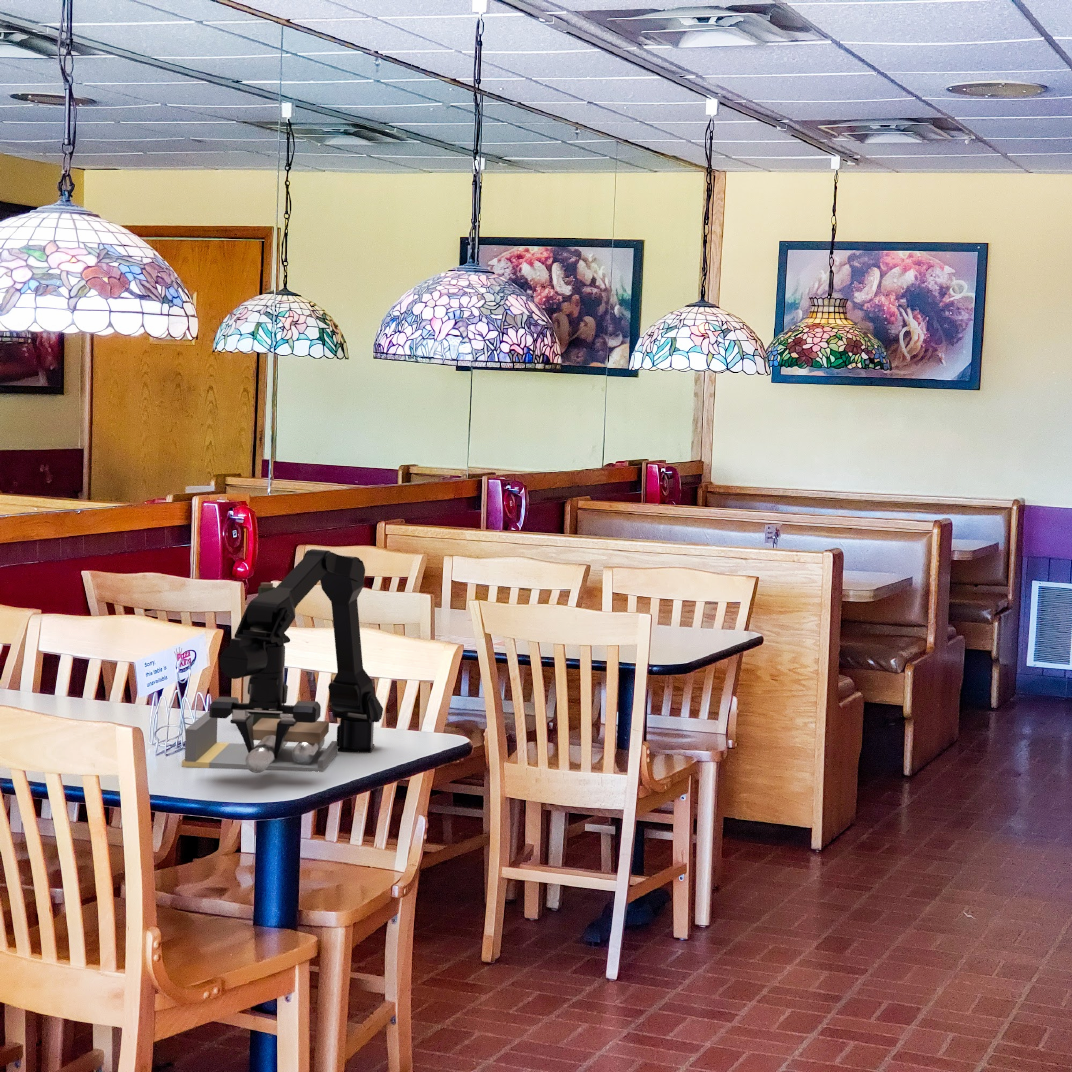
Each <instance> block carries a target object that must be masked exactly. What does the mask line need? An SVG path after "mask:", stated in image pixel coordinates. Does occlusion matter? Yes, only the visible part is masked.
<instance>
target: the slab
mask: <svg viewBox="0 0 1072 1072" xmlns="http://www.w3.org/2000/svg"><path fill="white" fill-rule="evenodd" d="M280 720H281V719H271V718H261V719H260V720H259V721H258V722H257V723H256V724H255V725H254V726H253V738H254V741H261V740H262V739H263V738H264V737H266V736H268V735H274V736H276V730H277V723H278V722H279V721H280ZM329 729H330V720H329V721H328V720H327V721H326V720H323V721H322V720H317V721H316V722H314V723H305V722H297V723H296V724H295V726H292V727H290V728H289V730H288V732H287V734H286V736H285V739H284V742H288V743H299V742H300V743H320V742H321V741H322V740H323V739H324V738H325V737H327V734H329Z"/></svg>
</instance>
